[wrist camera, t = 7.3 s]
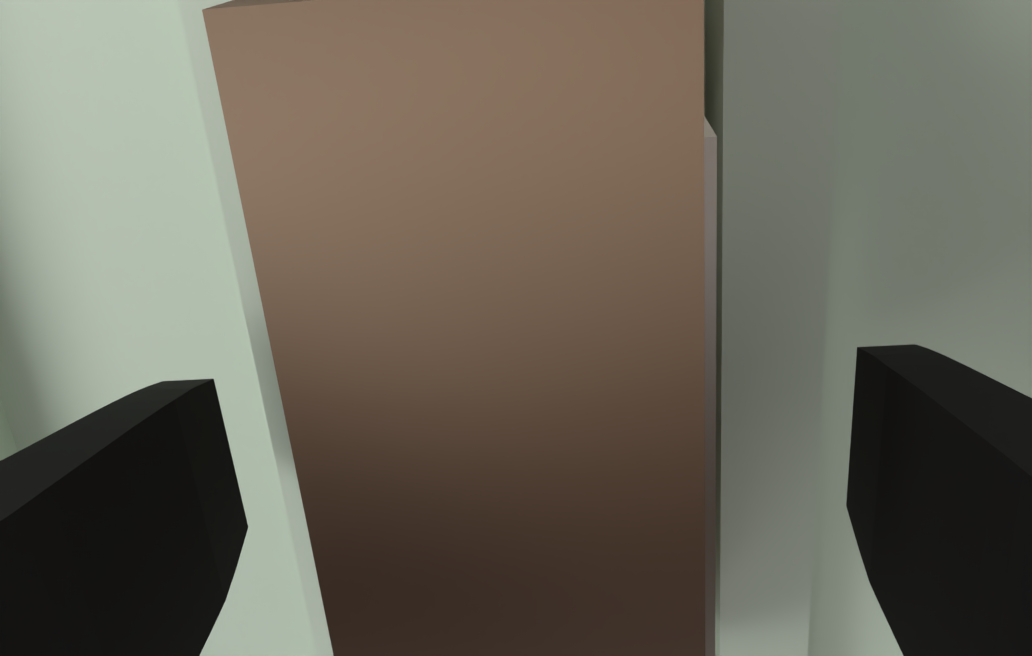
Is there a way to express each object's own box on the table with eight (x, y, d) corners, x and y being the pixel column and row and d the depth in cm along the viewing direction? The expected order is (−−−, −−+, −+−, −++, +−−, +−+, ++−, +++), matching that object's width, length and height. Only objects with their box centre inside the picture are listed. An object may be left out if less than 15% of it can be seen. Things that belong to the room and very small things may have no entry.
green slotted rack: (1087, 794, 17) (1165, 929, 15) (111, 805, 19) (48, 930, 17) (1414, -678, 9) (1684, -862, 7) (-331, -454, 11) (-572, -547, 9)
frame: (669, 568, 15) (726, 967, 9) (448, 575, 15) (376, 967, 9) (656, -68, 11) (738, -35, 6) (364, -43, 11) (170, 12, 6)
